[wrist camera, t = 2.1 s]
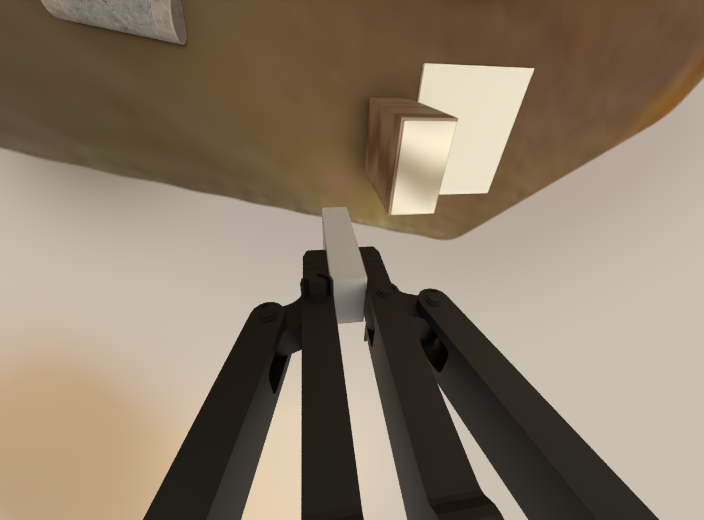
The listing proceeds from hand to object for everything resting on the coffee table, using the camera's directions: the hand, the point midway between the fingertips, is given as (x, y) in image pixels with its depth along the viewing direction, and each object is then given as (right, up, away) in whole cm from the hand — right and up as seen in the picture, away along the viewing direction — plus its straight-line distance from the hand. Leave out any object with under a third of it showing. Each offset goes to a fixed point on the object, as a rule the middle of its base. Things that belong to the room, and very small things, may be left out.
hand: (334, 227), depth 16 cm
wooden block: (+6, +14, +18) cm, 24 cm away
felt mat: (+16, +15, +20) cm, 29 cm away
